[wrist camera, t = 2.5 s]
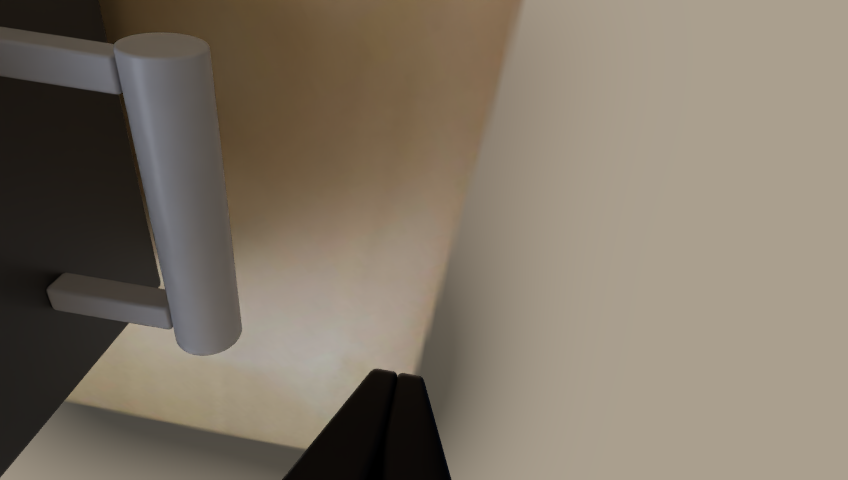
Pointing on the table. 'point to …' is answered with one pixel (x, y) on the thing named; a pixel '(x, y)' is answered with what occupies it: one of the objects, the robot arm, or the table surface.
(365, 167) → the table surface
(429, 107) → the table surface
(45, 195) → the drawer
